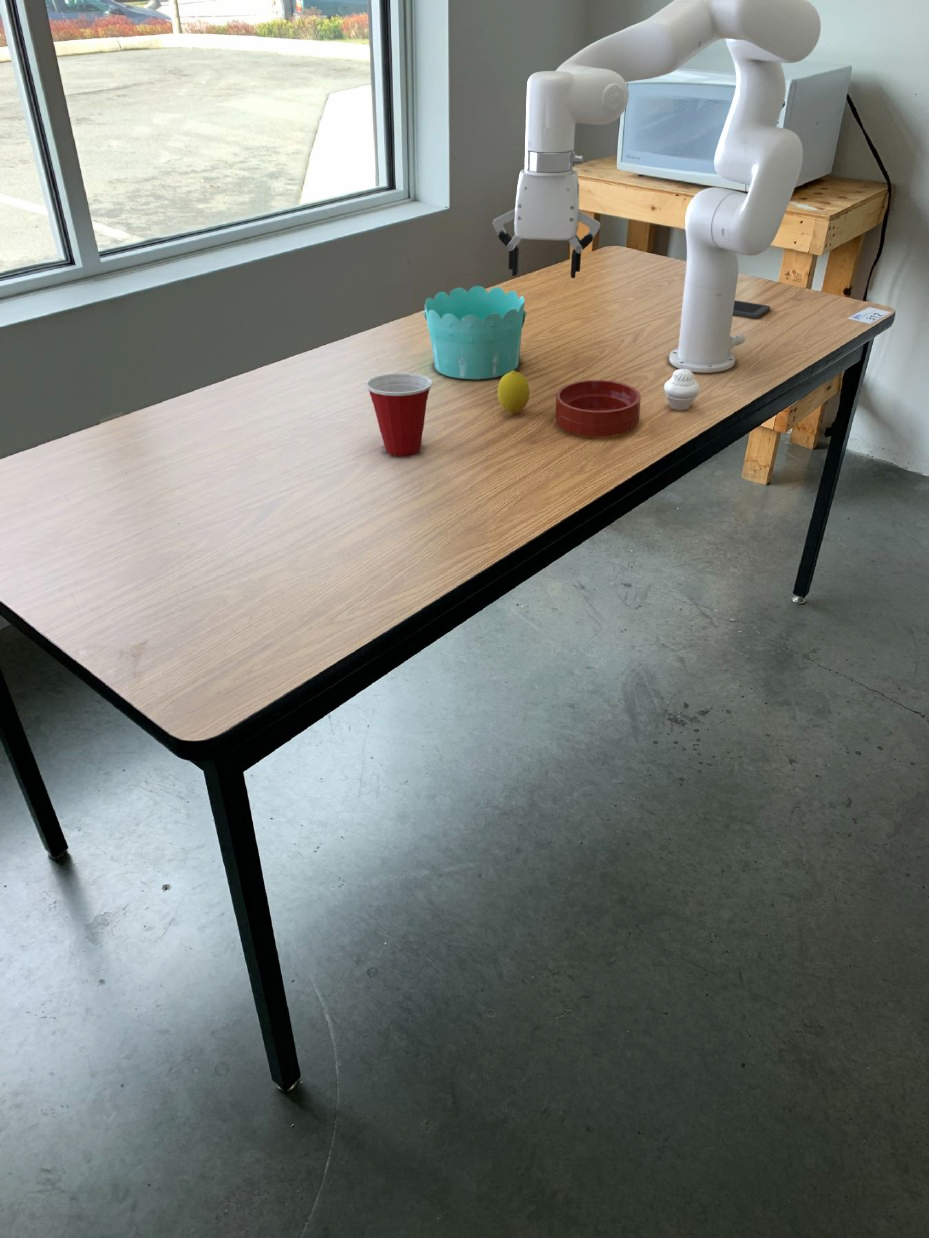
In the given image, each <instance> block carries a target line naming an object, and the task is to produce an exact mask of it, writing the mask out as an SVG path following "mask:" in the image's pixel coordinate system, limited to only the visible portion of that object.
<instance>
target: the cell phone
mask: <svg viewBox="0 0 929 1238" xmlns="http://www.w3.org/2000/svg"><path fill="white" fill-rule="evenodd" d="M770 310H771V306H770V305H766V304H760V303H754V302H747V301H742V300H736V299H735V301H734V309H733V316H734V315H736V316H740V317H747V318H753V319H759V318H761V317H762V316H764V315H765V314H766V313H767V312H769V311H770Z"/></svg>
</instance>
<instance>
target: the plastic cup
mask: <svg viewBox="0 0 929 1238" xmlns="http://www.w3.org/2000/svg"><path fill="white" fill-rule="evenodd" d="M433 383H434V381H433V380H432V378H430V377H429V376H425V375H423V374H420V373H419V374H418V373H412V372H391V373H384V374H379V375H375V376H373V377H371V378H368V379H367V380H366V381H365V383H364V385H365V387H366V389H367V391H368V392H369V396H370V399H371V401H372V402H371V403H372V404H373V409H374V412H375V416H376V421H377V424H378V428H379V432H380V434H381V437H382V438H381V439H382V441H383V445H384V448H385V451H386V453H387V454H388V455H390V456H393V457H396V458H397V457H400V458H401V457H402V458H404V457H411V456H414V455H417V454H418V453H419V452H420V450H421V447H422V440H423V432H424V429H425V428H424V427H425V419H426V410H427V402H428V398H429V395H430V394H429V393H430V389H431V388H432V386H433Z"/></svg>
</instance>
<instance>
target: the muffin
mask: <svg viewBox="0 0 929 1238" xmlns="http://www.w3.org/2000/svg"><path fill="white" fill-rule="evenodd" d="M663 390H664V393H665V397H666V400H667V401H668V404H669V406H670V408H671V409H673V410H676V411H686V410H688V409H689V408H691V405H693V402H694V401H695V400H696V398H697V397H698V394H699V392H700V385H699V384H698V382H697V381H696V379H695V377H694V372H691V371H690V370H688V369H679V368H677V369H676V370H675V371H674V372H672V376H671V377H670V379H668V380H667V381H666V382H665V383H664V387H663Z"/></svg>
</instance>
